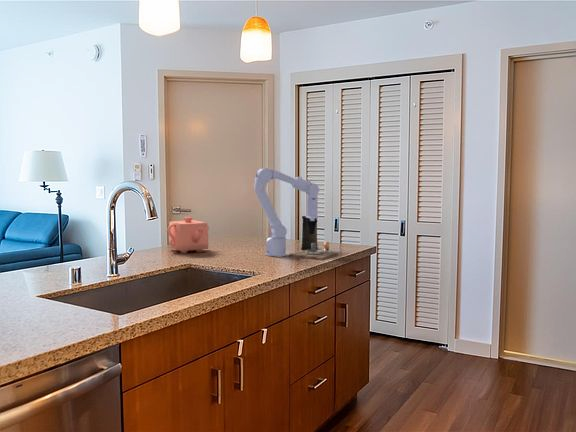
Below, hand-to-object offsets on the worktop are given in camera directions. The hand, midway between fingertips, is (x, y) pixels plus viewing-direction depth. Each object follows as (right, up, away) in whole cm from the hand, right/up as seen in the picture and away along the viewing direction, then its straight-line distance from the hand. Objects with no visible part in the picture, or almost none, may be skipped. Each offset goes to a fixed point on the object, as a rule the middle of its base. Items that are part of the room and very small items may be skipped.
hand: (311, 234), depth 259 cm
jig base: (+1, -11, -3) cm, 11 cm away
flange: (+3, -9, -3) cm, 10 cm away
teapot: (-62, -10, +7) cm, 63 cm away
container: (0, -9, +17) cm, 20 cm away
